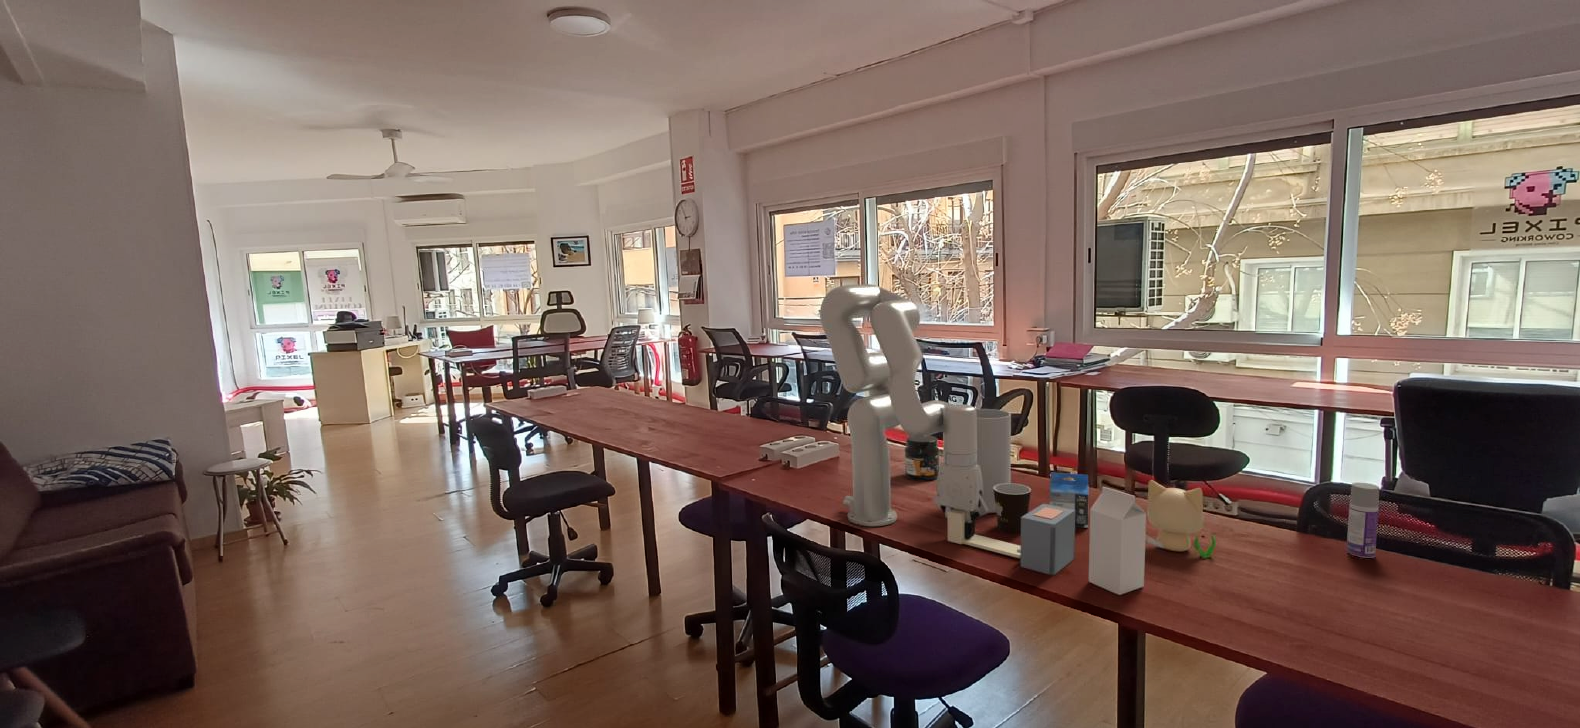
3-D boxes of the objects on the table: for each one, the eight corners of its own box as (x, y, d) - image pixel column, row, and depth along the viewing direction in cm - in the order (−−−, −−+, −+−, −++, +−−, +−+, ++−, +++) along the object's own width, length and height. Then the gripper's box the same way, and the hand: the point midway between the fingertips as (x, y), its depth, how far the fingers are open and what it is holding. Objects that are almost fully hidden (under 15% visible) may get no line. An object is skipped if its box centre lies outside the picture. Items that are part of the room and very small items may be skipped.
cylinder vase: (1015, 502, 187) (1016, 411, 184) (1002, 517, 177) (1003, 420, 173) (970, 496, 194) (969, 407, 191) (954, 509, 183) (954, 416, 180)
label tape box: (1049, 525, 170) (1049, 476, 168) (1049, 519, 174) (1050, 471, 172) (1088, 529, 167) (1089, 479, 165) (1087, 523, 170) (1088, 474, 169)
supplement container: (904, 481, 209) (904, 442, 208) (904, 471, 220) (904, 434, 218) (940, 482, 208) (940, 442, 206) (938, 472, 218) (938, 434, 216)
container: (1370, 552, 148) (1375, 483, 146) (1378, 560, 144) (1383, 490, 142) (1343, 549, 150) (1348, 481, 148) (1350, 557, 146) (1354, 487, 144)
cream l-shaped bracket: (947, 540, 161) (947, 511, 161) (960, 533, 166) (960, 504, 165) (1018, 559, 150) (1018, 528, 149) (1030, 551, 154) (1031, 520, 153)
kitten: (1220, 550, 152) (1223, 483, 150) (1209, 565, 144) (1212, 495, 142) (1146, 534, 162) (1148, 472, 160) (1132, 548, 154) (1134, 482, 153)
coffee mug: (1033, 536, 163) (1033, 494, 162) (994, 534, 165) (994, 493, 164) (1026, 519, 175) (1026, 480, 173) (990, 517, 176) (990, 479, 175)
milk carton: (1119, 596, 132) (1122, 499, 130) (1088, 582, 139) (1090, 489, 136) (1144, 587, 136) (1147, 493, 133) (1112, 574, 142) (1114, 483, 139)
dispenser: (1015, 565, 148) (1015, 515, 146) (1037, 549, 156) (1038, 501, 154) (1053, 575, 142) (1054, 523, 141) (1074, 558, 150) (1075, 509, 149)
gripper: (920, 457, 163) (921, 532, 165) (985, 467, 152) (986, 548, 154) (937, 450, 168) (938, 523, 171) (1001, 460, 157) (1001, 538, 159)
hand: (961, 534), depth 162 cm, fingers closed on cream l-shaped bracket, 3 cm apart
